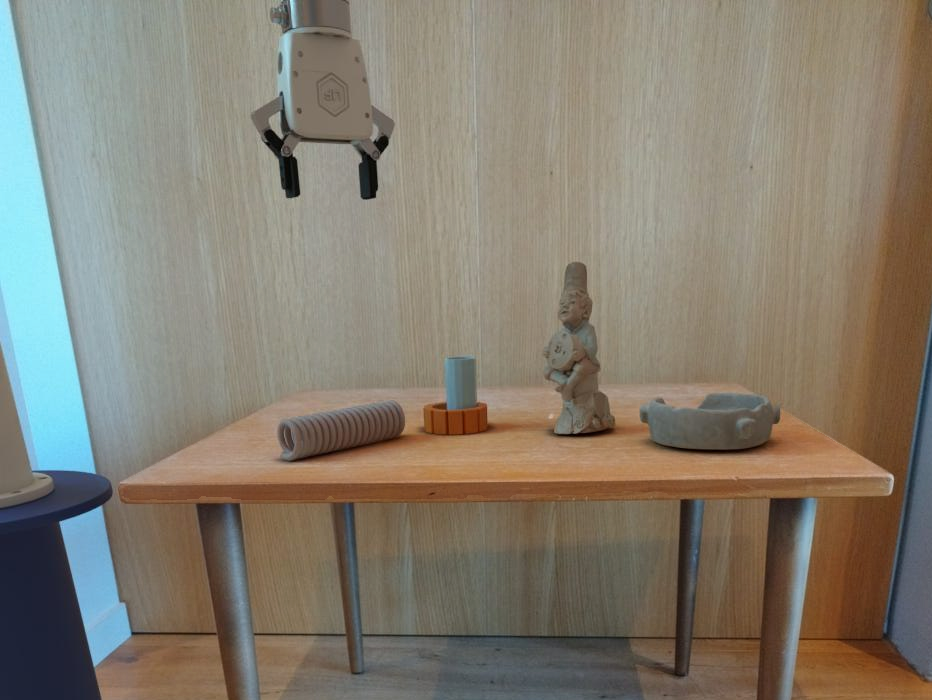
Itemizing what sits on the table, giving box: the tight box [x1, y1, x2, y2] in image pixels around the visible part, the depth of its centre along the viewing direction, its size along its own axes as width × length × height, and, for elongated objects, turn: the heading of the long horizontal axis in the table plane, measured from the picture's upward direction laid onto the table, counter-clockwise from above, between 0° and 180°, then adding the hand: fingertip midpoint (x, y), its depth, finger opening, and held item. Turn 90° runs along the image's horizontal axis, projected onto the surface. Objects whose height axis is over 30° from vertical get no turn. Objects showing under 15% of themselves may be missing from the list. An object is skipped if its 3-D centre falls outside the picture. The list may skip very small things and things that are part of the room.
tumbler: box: [444, 355, 478, 410], centre depth 112 cm, size 4×4×9 cm
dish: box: [639, 392, 781, 451], centre depth 99 cm, size 14×14×5 cm
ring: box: [423, 401, 489, 436], centre depth 113 cm, size 8×8×3 cm
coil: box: [276, 399, 406, 462], centre depth 102 cm, size 5×5×18 cm
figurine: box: [541, 261, 617, 435], centre depth 105 cm, size 9×8×20 cm
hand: (331, 198), depth 101 cm, fingers open, 9 cm apart
